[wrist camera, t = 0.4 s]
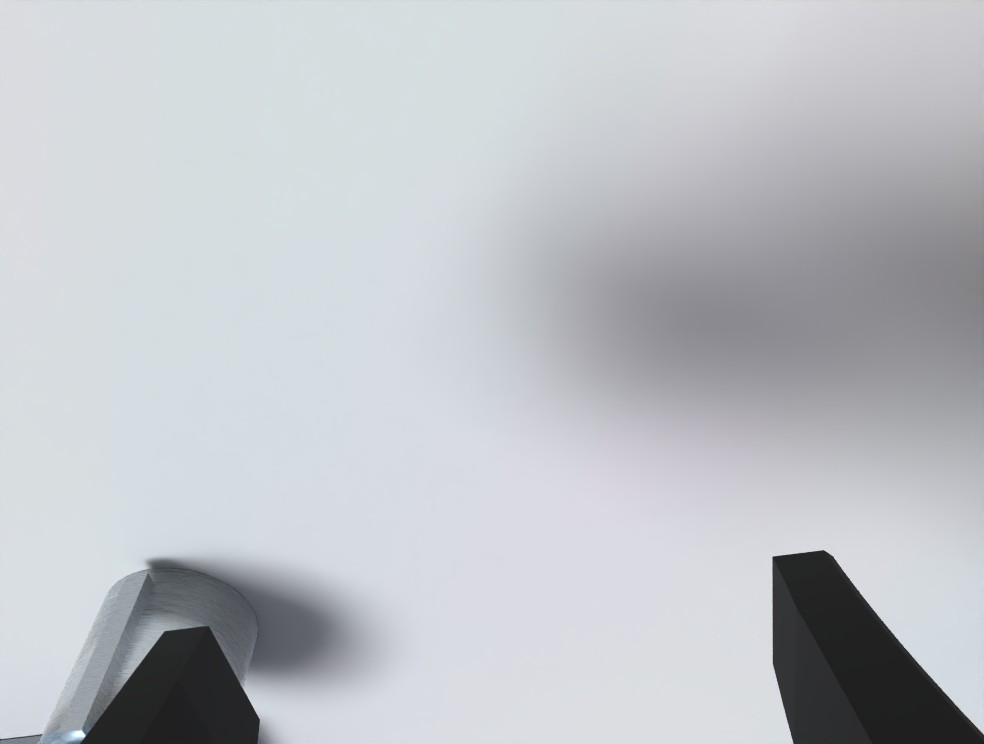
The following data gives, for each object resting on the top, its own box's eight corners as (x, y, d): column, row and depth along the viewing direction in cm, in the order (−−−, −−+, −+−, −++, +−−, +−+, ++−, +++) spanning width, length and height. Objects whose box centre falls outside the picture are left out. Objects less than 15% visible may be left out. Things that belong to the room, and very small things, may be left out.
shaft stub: (280, 659, 27) (234, 857, 23) (140, 677, 28) (65, 875, 23) (222, 546, 25) (155, 743, 20) (68, 568, 25) (-36, 767, 20)
